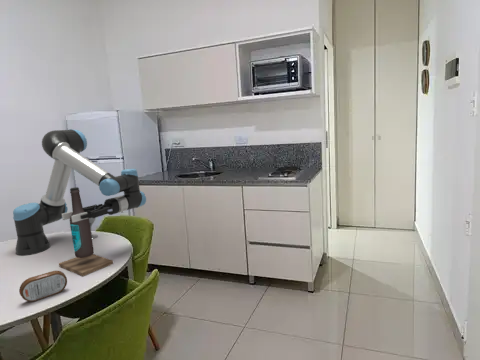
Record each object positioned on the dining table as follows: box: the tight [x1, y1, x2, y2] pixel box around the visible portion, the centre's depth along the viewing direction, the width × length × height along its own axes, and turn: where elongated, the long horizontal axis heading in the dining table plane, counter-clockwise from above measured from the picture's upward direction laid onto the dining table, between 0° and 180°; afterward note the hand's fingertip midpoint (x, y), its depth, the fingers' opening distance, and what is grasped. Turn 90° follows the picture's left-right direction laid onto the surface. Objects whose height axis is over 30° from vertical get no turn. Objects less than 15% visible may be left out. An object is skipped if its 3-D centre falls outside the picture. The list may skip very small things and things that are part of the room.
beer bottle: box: [69, 186, 95, 258], centre depth 146 cm, size 8×8×30 cm
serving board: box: [58, 253, 114, 277], centre depth 149 cm, size 20×14×2 cm
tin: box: [19, 270, 68, 302], centre depth 123 cm, size 15×3×8 cm, turn 131°
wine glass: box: [89, 217, 99, 240], centre depth 188 cm, size 8×8×15 cm
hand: (67, 218), depth 142 cm, fingers closed on beer bottle, 7 cm apart
